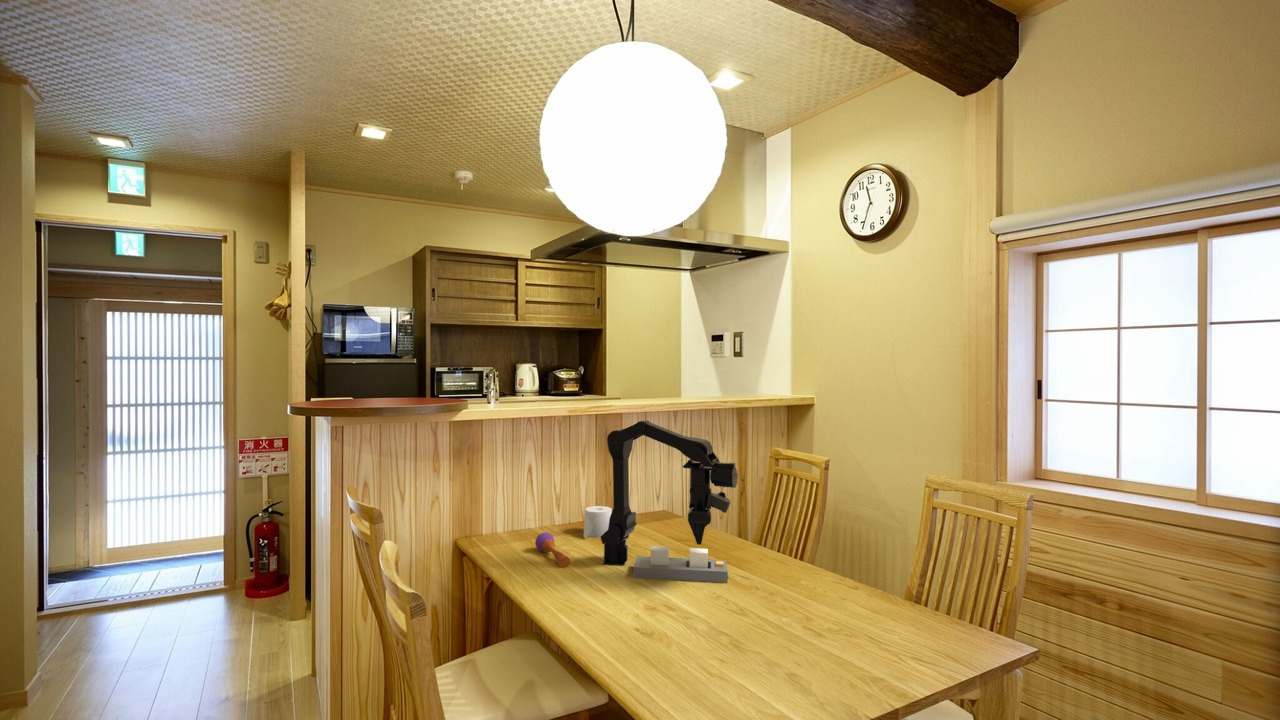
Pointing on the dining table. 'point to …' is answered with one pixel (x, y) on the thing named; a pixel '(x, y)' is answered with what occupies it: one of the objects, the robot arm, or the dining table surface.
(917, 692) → the dining table surface
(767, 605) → the dining table surface
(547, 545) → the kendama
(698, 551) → the plug
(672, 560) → the power strip
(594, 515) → the toilet tissue
